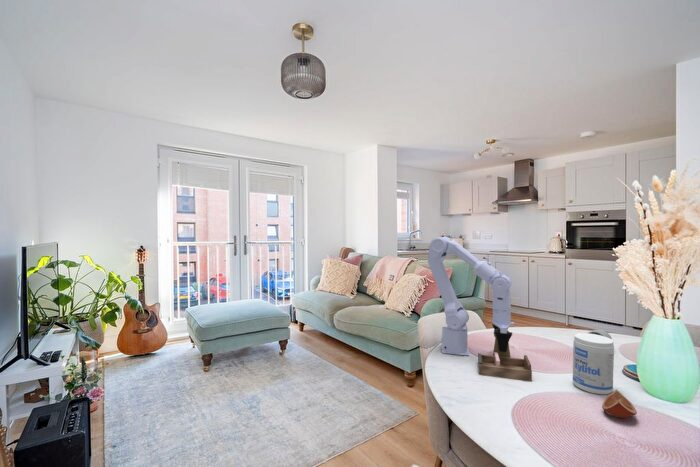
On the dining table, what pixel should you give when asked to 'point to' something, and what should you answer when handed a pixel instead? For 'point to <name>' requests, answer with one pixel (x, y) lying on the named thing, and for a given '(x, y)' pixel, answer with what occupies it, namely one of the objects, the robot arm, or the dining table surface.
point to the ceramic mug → (600, 333)
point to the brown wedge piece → (618, 405)
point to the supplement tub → (593, 363)
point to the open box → (505, 367)
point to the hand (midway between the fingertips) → (501, 347)
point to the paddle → (497, 360)
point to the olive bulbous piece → (496, 348)
